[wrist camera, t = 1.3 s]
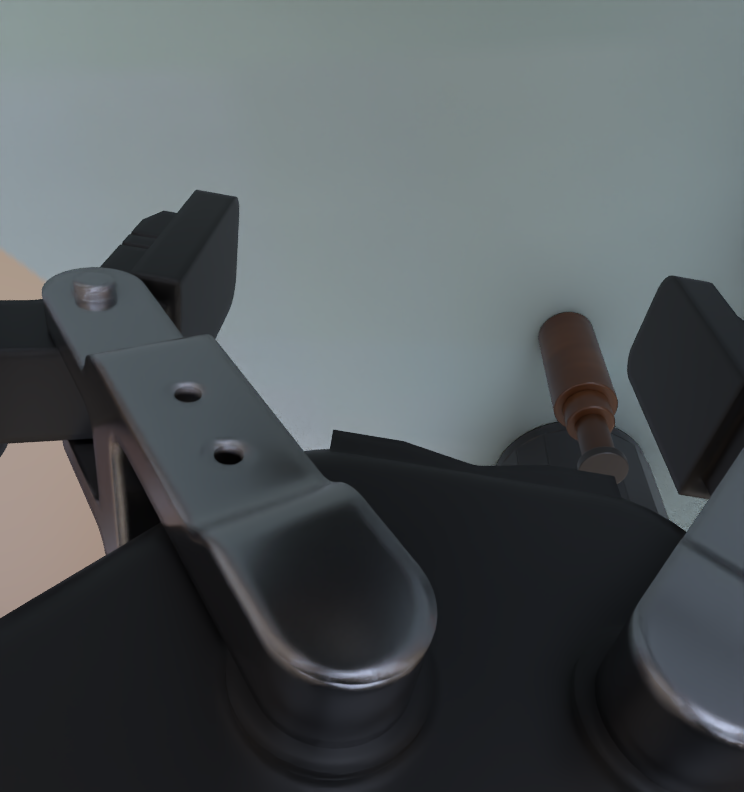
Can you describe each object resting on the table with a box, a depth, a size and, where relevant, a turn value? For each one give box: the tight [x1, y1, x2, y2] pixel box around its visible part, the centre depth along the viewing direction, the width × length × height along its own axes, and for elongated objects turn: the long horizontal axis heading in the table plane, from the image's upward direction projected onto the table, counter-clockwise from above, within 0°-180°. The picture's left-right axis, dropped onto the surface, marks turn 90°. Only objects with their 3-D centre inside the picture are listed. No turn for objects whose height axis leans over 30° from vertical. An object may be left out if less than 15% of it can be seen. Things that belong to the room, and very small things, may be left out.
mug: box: [496, 422, 670, 521], centre depth 38 cm, size 12×9×8 cm
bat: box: [538, 312, 629, 484], centre depth 30 cm, size 3×3×10 cm
